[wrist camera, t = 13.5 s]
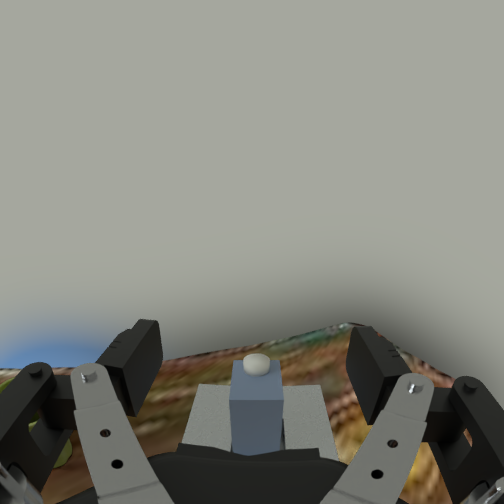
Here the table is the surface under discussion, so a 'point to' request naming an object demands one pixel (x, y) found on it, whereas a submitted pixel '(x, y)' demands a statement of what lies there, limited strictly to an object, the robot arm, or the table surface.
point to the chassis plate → (293, 422)
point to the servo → (256, 405)
